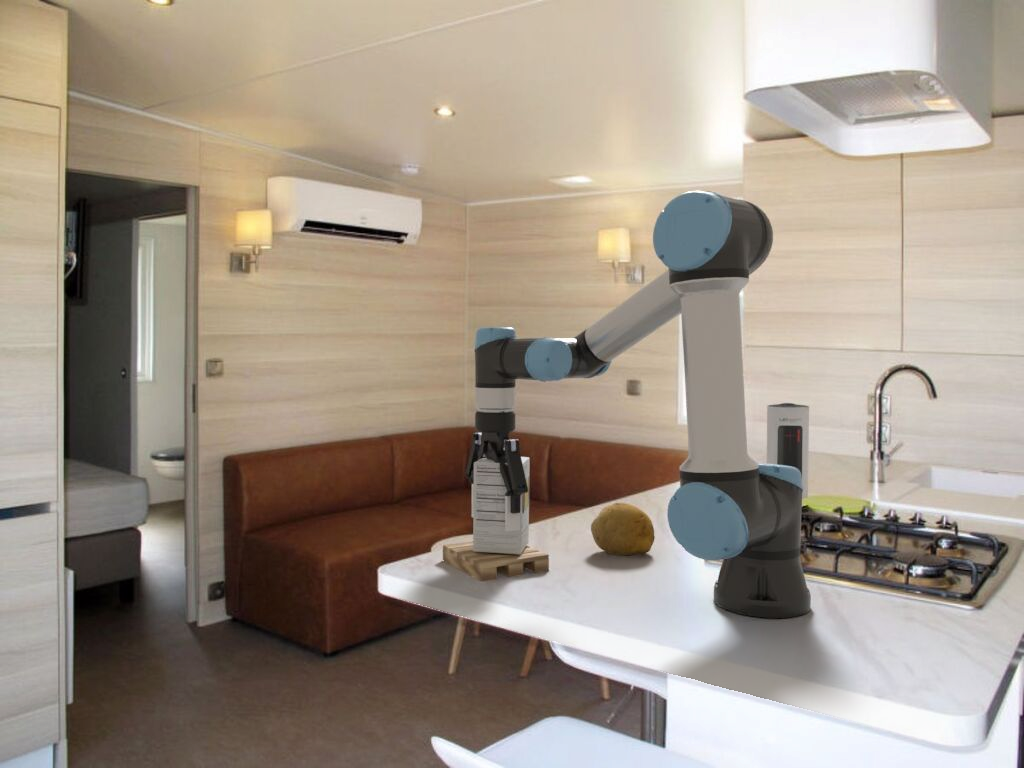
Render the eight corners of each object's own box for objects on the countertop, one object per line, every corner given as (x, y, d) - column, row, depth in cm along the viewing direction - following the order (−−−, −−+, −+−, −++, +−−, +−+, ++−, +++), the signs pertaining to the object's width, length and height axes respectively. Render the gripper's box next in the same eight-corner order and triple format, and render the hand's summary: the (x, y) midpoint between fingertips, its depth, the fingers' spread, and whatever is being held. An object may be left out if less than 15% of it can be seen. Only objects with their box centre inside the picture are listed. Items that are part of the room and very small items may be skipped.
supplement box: (521, 555, 156) (522, 464, 155) (471, 552, 158) (472, 462, 156) (529, 542, 165) (530, 455, 164) (482, 539, 167) (483, 454, 166)
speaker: (762, 506, 218) (764, 404, 217) (767, 499, 228) (769, 401, 226) (806, 509, 214) (809, 405, 212) (809, 502, 224) (811, 402, 222)
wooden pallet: (548, 570, 158) (548, 554, 158) (481, 581, 151) (481, 564, 151) (506, 551, 172) (506, 536, 171) (442, 560, 165) (442, 545, 164)
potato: (653, 561, 165) (654, 510, 164) (588, 557, 167) (589, 507, 167) (655, 548, 175) (656, 500, 174) (594, 545, 177) (594, 497, 177)
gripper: (547, 414, 151) (546, 534, 152) (482, 404, 172) (482, 509, 173) (510, 416, 147) (510, 539, 148) (448, 405, 168) (448, 513, 169)
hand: (495, 523), depth 161 cm, fingers open, 13 cm apart
